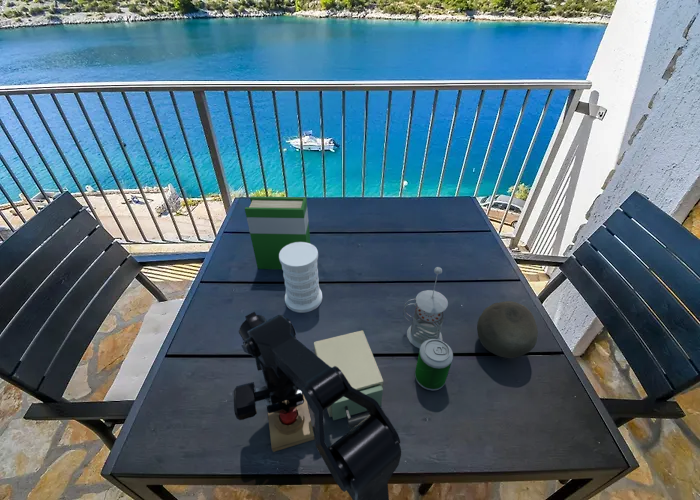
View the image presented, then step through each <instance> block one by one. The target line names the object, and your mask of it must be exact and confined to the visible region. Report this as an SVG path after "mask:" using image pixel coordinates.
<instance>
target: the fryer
mask: <svg viewBox="0 0 700 500" xmlns="http://www.w3.org/2000/svg"><path fill="white" fill-rule="evenodd" d="M313 349H314V354H315V355H316V356H318V357H319V358H320V359H321V360H323V361H324V362H325V363H326V364H327V365H329V366H330V367H334V366H336V367H338V368H339V369H340V370H341V371H342V373H343V374H344V376H345V377H346V379H347V380H348V382H349V383H350V385H351V387H353V388H355V389H356V390H361V389H364V388H368V387H371V386H375V385H376V386H379V385H381V386H382V388H383V389H384V381H385V380H384V379H383V377H382V373H381V371H380V369H379V367H378V363H377V362H376V358H375V357H374V354H373V351H372V349H371V347H370V344H369V341H368V339H367V337H366V335H365V332H364V330H357V331H354V332H349V333H344V334H341V335H337V336H333V337H329V338H324V339H320V340H316V341H313ZM327 414H328V417H329V418H333V417H332V408H331V406H329V407H328V408H327Z"/></svg>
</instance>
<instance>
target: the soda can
mask: <svg viewBox="0 0 700 500" xmlns="http://www.w3.org/2000/svg"><path fill="white" fill-rule="evenodd" d="M453 352H454V351H453V350H452V348H451V347H450V346H449V344H448V343H446V342H445V341H443V340H442V341H441V340H437V339H430V340H427V341H425V342H424V343H423V344H422V345H421V347H420V348H419V352H418V356H417V361H416V364H415V365H416V366H415V371H414V377H415V380H416V382H417V384H418V386H420V387H422V389H425V390H427V391H433V392H434V391H439V390H441V389H442V388H443V387H444V386H445V384H446V381H447V378H448V375H449V371H450V368H451V366H452V362H453V359H454V353H453Z"/></svg>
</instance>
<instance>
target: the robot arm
mask: <svg viewBox="0 0 700 500" xmlns="http://www.w3.org/2000/svg"><path fill="white" fill-rule="evenodd" d="M244 317H245V320H244V321H243V322H242V323H241V324H240V327H239V330H238V334H239V335H240V337H241V339H242V340H243V341H242V344H241V348H242V350H243V352H244V353H246V354H247V355H250V356H252V358H254V359H255V365H256V369H257V371H258V372H260V371H261V373H262V375H263V379H264V382H265V385H264V386H260V387H256V386H255V382H254V381H252V382H248V383H245V384H240V385H237V386H235V388H234V389H233V411H234V412H233V413H234V416H235V418H236V419H237V420H238V421H243V420H246V419H251V418H254V417H255V416H256V415H258V410H257V405H256V403H257V402H259V401H263V400H264V402H265V406H266V412H267V414H268V413H284V414H288V413H290V412H292V411H293V410H294V409H295V408H296V407H298V406H299V405H302V404H303V403H304V398H303V395H304V397H305V399H306V401H307V404H308V407H309V409H310V411H311V412H312V413H313V416H314V438H315V439H314V441H315V447H316V449H317V451H318V453H319V455H320V457H321V458H322V460H323V462H324V464H325V465H326V467H327V469H328V472H329V473H330V474H331V476H332V478H333V480H334V481H335V483H336V484H337V486H338V487H339V489H340V490H341V491H342V492H343V493H346V492H347V493H348V495H349V497H350V498H351V500H390V495H389V483H388V482H389V480H390V479H391V477H392V476H393V474H394V473H395V471H396V470H397V468H398V467H399V465H400V461H401V457H402V448H401V445H400V444H401V439H400V436H399V434H398V432H397V430H396V428H395V427H394V425H393V424H392V422H391V421H390V419H389V418H388V416H387V414H386V413H385V412H384V410H383V408H382V406H381V407H380V405H379V404H378V402H377V401H376V400H375V399H373V398H371V397H369V396H367V395H366V394H364V393H362V392H360V391H358V390H356V389H355V388H353V387H351V385H350V383H349V382H348V380H347V379H346V377H345V376H344V374H343V373H342V371H341V370H340V369H339V368H338V367H336V366H334V367H330V366H329V365H327V364H326V363H325V362H324V361H323V360H321V359H320V358H319V357H318V356H316V355H315V352H313V351H312V350H311V349H309V348H308V347H307V346H306V345H304V344H303V343H302V342H300V341H299V340H298V339H297V337H296V336H297V334H296V330H295V327H294V325H293V323H292V322H291V320H290V318H288V317H285V316H283V315H282V314H278V315H275V316H274V317H273V316H272V317H271V318H270V319H266V317H265V316H264V315H262V314H257V313H256V312H255V311H253V312H251V313H249V314H247V315H245V316H244ZM255 387H256V388H255ZM343 396H344V397H346V398H348V399H349V400H351V401H353V402H355V403H357V404H359V405H360V406H362V407H364V408H366V409H367V411H366V412H367V413H369V414H370V415H369V416H368V417H367V418H366V419H364V420H363V421H362V422H360V423H359V424H358V425H356V426H353V427H352V428H351V429H350V430H349V431H347V432H346V433H345V434H343V436H341V437H339V438H338V440H336V441H335V442H333V443H332V444H330V446H329V447H328V445H327V444H326V441H325V425H324V424H325V423H324V421H325V420H324V411H326V409H327V408H328V407H329V406H331V405H332V404H334V403H335V402H336V401H338V400H339V399H341V398H342V397H343ZM285 400H287V405H286V402H285Z"/></svg>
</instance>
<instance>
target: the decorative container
mask: <svg viewBox="0 0 700 500" xmlns="http://www.w3.org/2000/svg"><path fill="white" fill-rule="evenodd" d="M310 243H311V242H310ZM310 243H306V242H295V243H291V244H289V245H286V246H285V247H284V248H282V250H281V251H280V253H279V260H280V263H281V264H282V269H281V270H282V271H283V273H282V276H283V279H284V287H285V295H284V303H285V305H286V307H287V308H288V309H289V310H290V311H292V312H295V313H309V312H313V311H314V310H316V309H317V308H318V307H320V305H321V304H322V302H323V292H322V290H321V288H320V284H319V281H320V279H319V269H318V259H319V249H317V247H316V246H315V245H314V244H312V243H311V244H310Z"/></svg>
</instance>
